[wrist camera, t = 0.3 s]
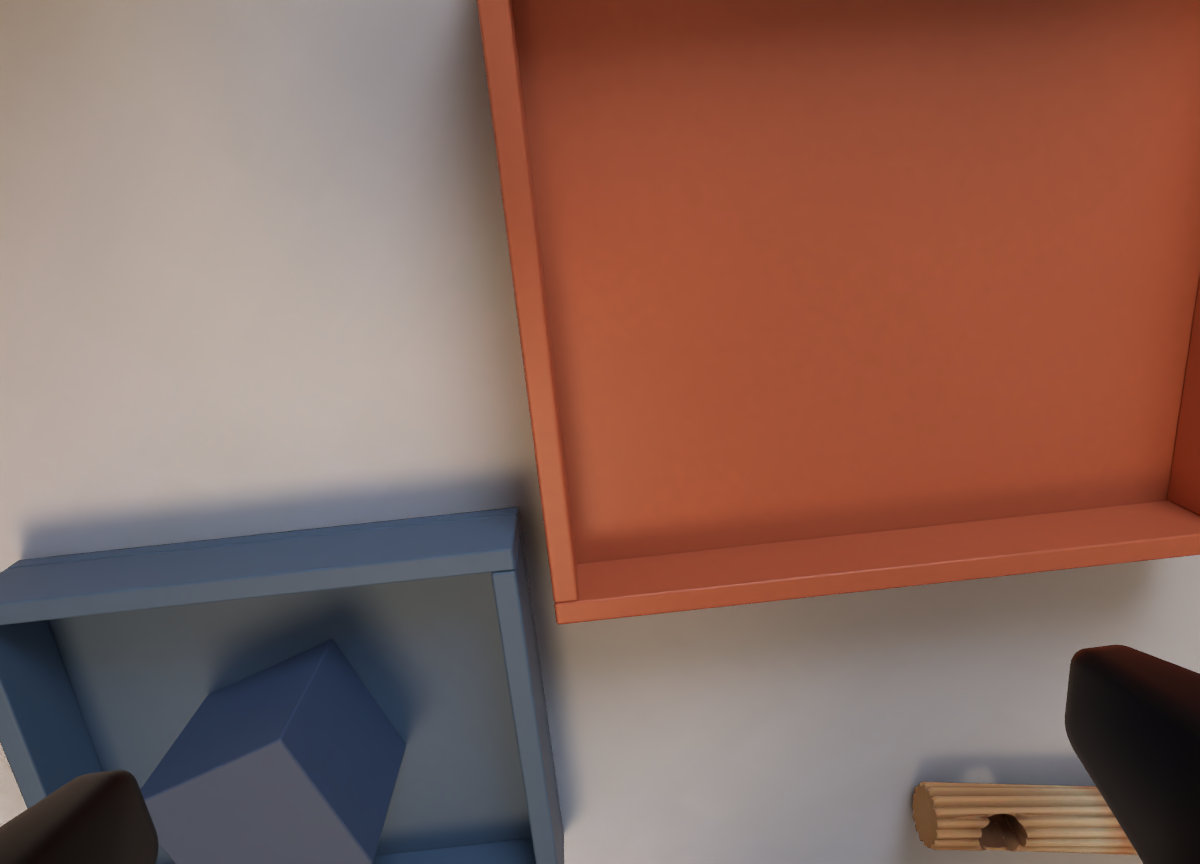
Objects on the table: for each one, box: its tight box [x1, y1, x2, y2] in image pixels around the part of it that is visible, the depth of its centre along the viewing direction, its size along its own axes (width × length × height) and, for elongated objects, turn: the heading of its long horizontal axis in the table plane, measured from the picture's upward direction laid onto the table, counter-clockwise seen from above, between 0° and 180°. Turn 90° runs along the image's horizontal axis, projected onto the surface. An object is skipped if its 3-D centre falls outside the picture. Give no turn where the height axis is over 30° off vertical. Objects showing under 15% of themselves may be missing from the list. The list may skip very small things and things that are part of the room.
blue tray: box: [0, 507, 564, 864], centre depth 20 cm, size 11×13×2 cm
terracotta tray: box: [477, 0, 1200, 624], centre depth 17 cm, size 15×17×2 cm
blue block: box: [140, 639, 406, 864], centre depth 19 cm, size 4×4×4 cm
